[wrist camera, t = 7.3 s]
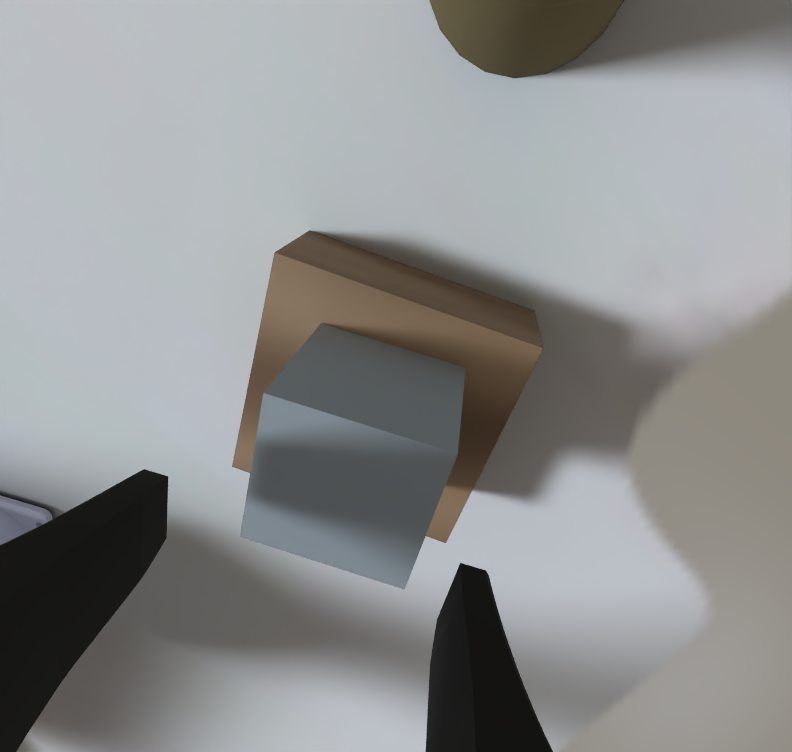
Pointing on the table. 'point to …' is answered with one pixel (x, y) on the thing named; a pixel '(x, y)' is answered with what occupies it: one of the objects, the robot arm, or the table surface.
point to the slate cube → (354, 454)
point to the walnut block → (397, 342)
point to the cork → (522, 31)
